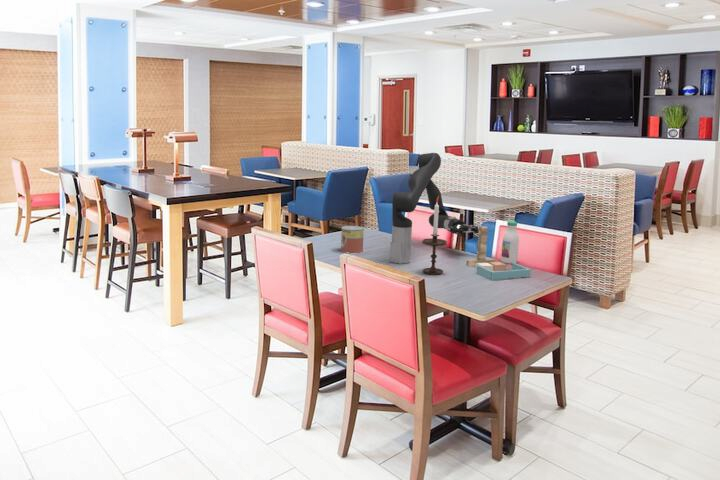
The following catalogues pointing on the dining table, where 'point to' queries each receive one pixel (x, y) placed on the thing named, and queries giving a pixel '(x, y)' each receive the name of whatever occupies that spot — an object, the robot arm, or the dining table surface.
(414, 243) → the dining table surface
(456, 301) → the dining table surface
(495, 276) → the box
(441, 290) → the dining table surface
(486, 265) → the tile cream
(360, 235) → the canned food
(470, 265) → the wooden tower
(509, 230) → the milk bottle
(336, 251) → the dining table surface
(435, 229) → the candlestick
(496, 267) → the tile terracotta
